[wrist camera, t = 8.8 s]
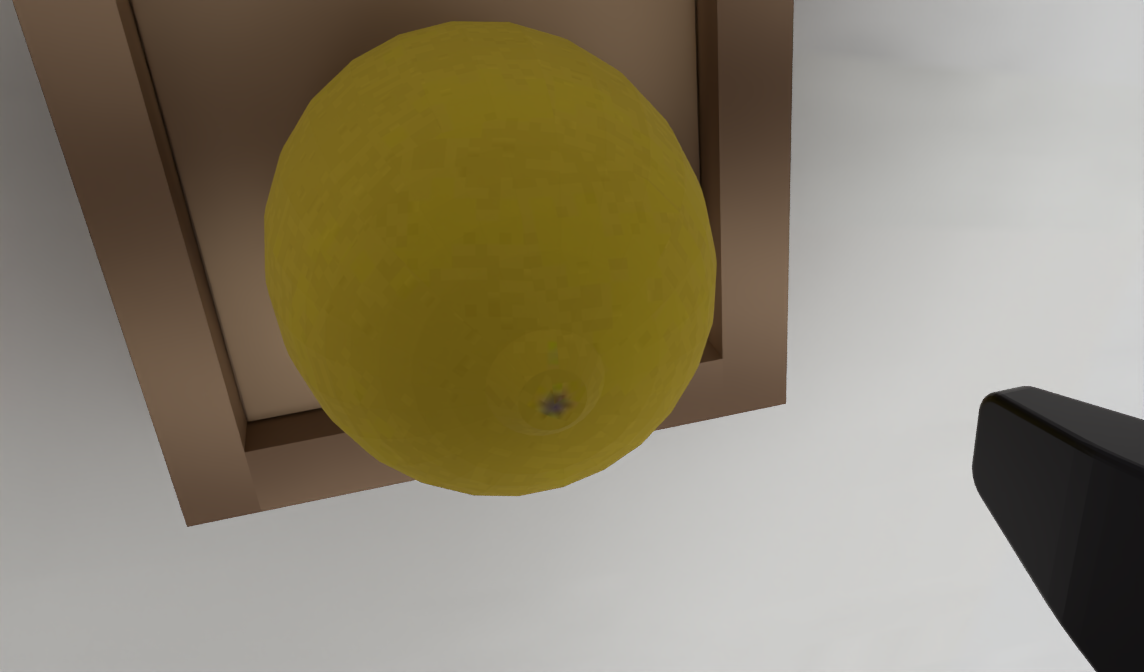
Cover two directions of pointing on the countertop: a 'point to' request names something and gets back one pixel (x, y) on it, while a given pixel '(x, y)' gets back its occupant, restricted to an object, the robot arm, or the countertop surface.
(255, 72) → the walnut base
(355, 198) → the lemon
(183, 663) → the countertop surface
